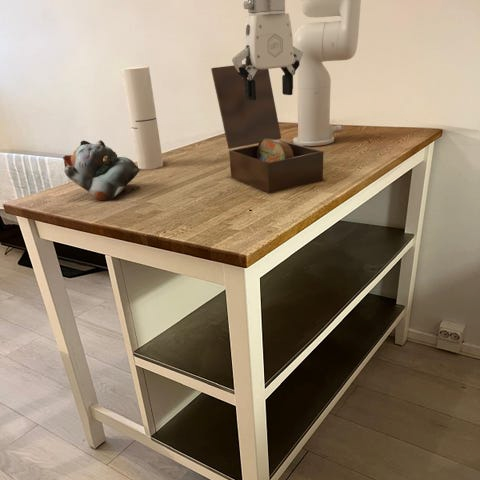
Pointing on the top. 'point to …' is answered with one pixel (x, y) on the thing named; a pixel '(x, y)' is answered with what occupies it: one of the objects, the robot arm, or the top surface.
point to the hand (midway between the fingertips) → (269, 97)
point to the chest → (277, 168)
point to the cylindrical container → (142, 116)
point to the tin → (273, 150)
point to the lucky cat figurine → (99, 170)
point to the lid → (245, 107)
